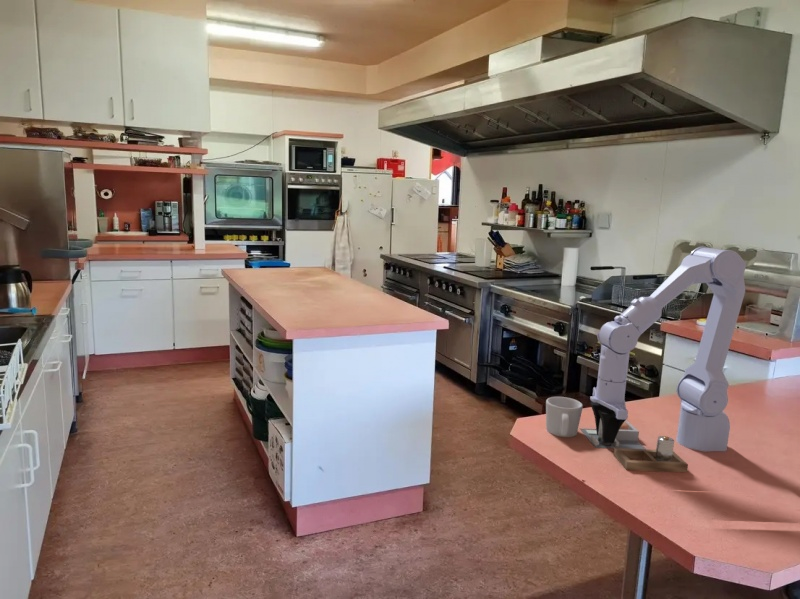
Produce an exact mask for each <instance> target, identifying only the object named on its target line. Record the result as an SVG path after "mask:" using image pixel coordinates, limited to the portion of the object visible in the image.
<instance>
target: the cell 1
mask: <svg viewBox="0 0 800 599" xmlns="http://www.w3.org/2000/svg"><path fill="white" fill-rule="evenodd" d="M598 441H599V444H601V445H605V446H611V445H612V443H604V442H603V438H602V421H601V417H600V423H599V432H598Z"/></svg>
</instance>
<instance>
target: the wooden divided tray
mask: <svg viewBox="0 0 800 599" xmlns="http://www.w3.org/2000/svg"><path fill="white" fill-rule="evenodd" d="M613 450H614V451H613V457H614V458H615V459H616V461H617V462H619V464H620V465H621V466H622V467H623V468H624V470H626V471H641V472H671V473H688V469H689V468H688V467H689V464H688V463H687V462H686V461H685V460H684V459H682V458H681V457H680V456H679V455H678V454H677V453H676V452H675V451H673V454H672V461H671V462H668V461H657V460H656V459H655V455H656V449H647V448H646V449H622V448H614V449H613ZM638 459H639V460H638Z"/></svg>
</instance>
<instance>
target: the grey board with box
mask: <svg viewBox="0 0 800 599" xmlns="http://www.w3.org/2000/svg"><path fill="white" fill-rule="evenodd" d="M625 423H627V424H628V425H629V429H628V430H621V429H619V431H618V433H617V436H616V438H615V441H614V443H612V445H611V446H605V445H601V444H599V441H598V435H597V431H596V428H579V427H578V430H580V431H581V433H582V434H584V436H585V437H586V438H587V439H588V441H589V442H590V443H591V445H592V446H593V447H594V448H596V449H613V450H614V448H622V449H647V448H645V446H644V445H643V444H642V443H640V442H639V435H640V431H639V430H638V429H637V428H636V427H635V426H634V425H633V424H632V423H631V422H629V421H628V420H625Z"/></svg>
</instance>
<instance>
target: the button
mask: <svg viewBox="0 0 800 599" xmlns="http://www.w3.org/2000/svg"><path fill="white" fill-rule="evenodd" d="M620 429H621V430H628V429H629V425H628V424H627V423H625V422H624V423H623V424H622V426H621V427H620Z"/></svg>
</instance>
